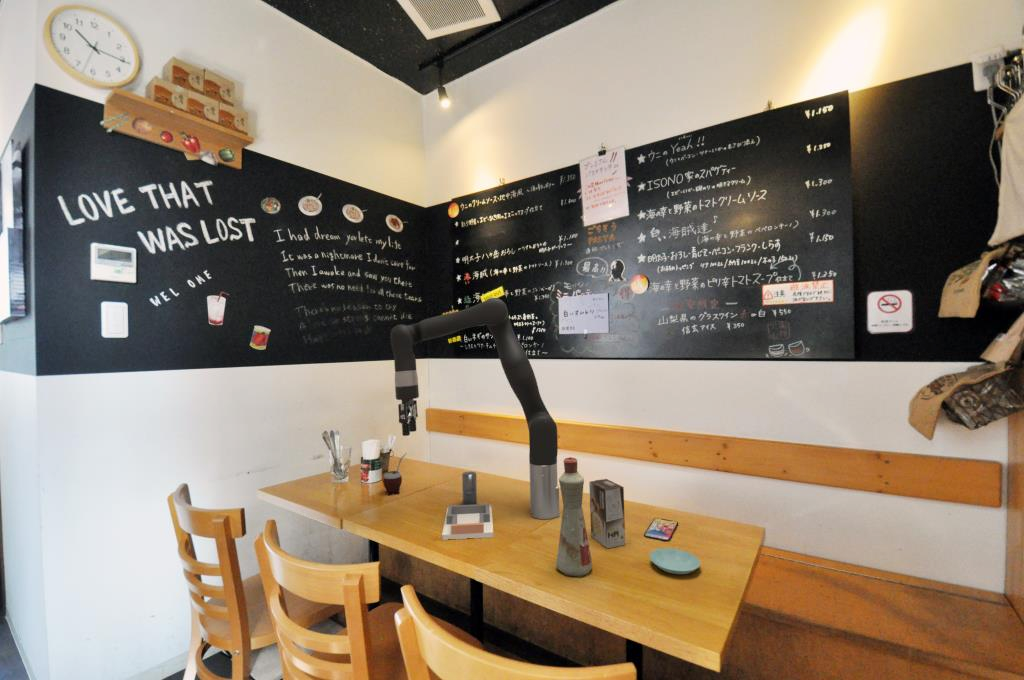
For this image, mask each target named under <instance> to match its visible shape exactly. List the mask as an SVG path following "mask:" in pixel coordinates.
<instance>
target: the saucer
mask: <svg viewBox="0 0 1024 680" xmlns="http://www.w3.org/2000/svg"><path fill="white" fill-rule="evenodd" d="M649 560H651V562H652V563H653V564H654V565H655V566H656V567H657V568H659V569H660V570H661V571H664V572H665V573H669V574H673V575H679V576H680V575H686V574H691V573H692V572H694V571H696V570H697V569H699V568H700V565H701V561H700V559H698V557H697V556H696V555H694V554H692V553H690V552H687V551H685V550H683V549H682V550H681V549H676V548H667V547H665V548H658V549H655V550H652V551H651V553H650V554H649Z"/></svg>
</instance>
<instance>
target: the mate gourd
mask: <svg viewBox="0 0 1024 680" xmlns="http://www.w3.org/2000/svg"><path fill="white" fill-rule="evenodd" d="M406 455H407V452H406V453H404V455H402V456H401V458H400V459H399V460H398V461H399V462H398V464H397V468H396V470H391V471H387V472H385V473H384V475H383V480H382V483H383V486H384V489H385V493H386V496H387V495H388V496H392V495H400V494H399V493H400V489H401V485H402V482H403V478H402V474H401V472H400V471H399V469H400V466H401V463H402V460H403V459H404V458H405V457H406ZM393 493H394V494H393Z"/></svg>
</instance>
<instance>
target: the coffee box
mask: <svg viewBox="0 0 1024 680" xmlns="http://www.w3.org/2000/svg"><path fill="white" fill-rule="evenodd" d="M588 484H589V509H590V510H589V512H590V513H589V514H590V515H589V516H590V535H591V538H593V540H595V541H597V542H598V543H600V544H601V545H602V546H604V547H605V548H606V549H610V548H615V547H621V546H625V545H626V526H625V525H626V524H625V523H626V522H625V520H626V519H625V494H624V493H625V491H624V486H622V485H620V484H617V483H615V482H614V481H612V480H610V479H607V478H602V479H596V480H593V481H589V482H588Z"/></svg>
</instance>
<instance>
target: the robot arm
mask: <svg viewBox="0 0 1024 680" xmlns="http://www.w3.org/2000/svg"><path fill="white" fill-rule="evenodd" d="M480 326H487V328H488V330H489V332H490V334H491V336H492V337H493V341H494V343H495V345H496V348H497V354H498V357H499V360H500V361H499V362H500V364H501V367H502V369H503V373H504V375H505V377H506V379H507V382H508V384H509V386H510V388H511V389H512V391H513V393H514V395H515V397H516V398H517V400H518V401H519V404H520V405H521V407H522V410H523V414H524V417H525V420H526V425H527V430H528V433H529V434H528V436H529V438H528V439H529V441H528V442H529V444H528V445H529V452H528V453H529V454H528V455H529V456H528V458H529V459H528V460H529V464H528V466H529V497H530V498H529V499H530V500H529V503H530V504H529V505H530V506H529V507H530V509H529V510H530V516H531V517H533V518H535V519H538V520H549V519H554V518H557V517H559V518H560V487H559V484H558V451H559V449H558V445H559V444H558V427H557V423H556V422H555V420H554V418H553V417H552V415H551V414H550V412H549V411H548V409H547V407H546V405H545V403H544V401H543V399H542V396H541V393H540V389H539V386H538V381H537V378H536V375H535V372H534V369H533V366H532V363H530V360H529V357H528V356H527V353H526V351H525V350H524V348H523V346H522V344H521V343H520V341H519V340H518V338H517V335H516V333H515V332H514V328H513V326H512V323H511V319H510V316H509V310H508V307H507V304H506V302H504V301H503V300H502V299H500V298H497V297H491V298H487V299H486V300H484V301H482V302H479V303H478V304H475V305H472V306H470V307H467V308H465V309H462V310H458V311H453V312H450V313H445V314H441V315H437V316H433V317H429V318H424V319H422V320H421V321H419V322H417V323H413V324H409V325H408V324H407V325H406V324H396V325H395V326H394V327H393V328H392V329H391V331H390V345H391V351H392V353H393V361H394V363H393V364H394V388H395V399H396V400H399V401H401V403H399V404H398V423H399V424H400V425H401V431H402V432H401V433H402V436H404V437H407V436H410V434H411V433H412V432H416V431H417V419H418V417H419V414H418V404H417V400H416V399H419V397H420V394H419V392H420V391H419V390H420V389H419V378H418V377H419V376H418V373H417V372H418V371H417V360H416V355H415V354H414V351H413V345H416V344H417V345H418V344H419V343H422V342H424V341H428V340H434V339H436V338H437V339H438V338H441V337H444V336H445V337H446V336H447V335H452V334H454V333H457V332H459V331H462V330H465V329H469V328H473V327H480Z"/></svg>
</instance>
